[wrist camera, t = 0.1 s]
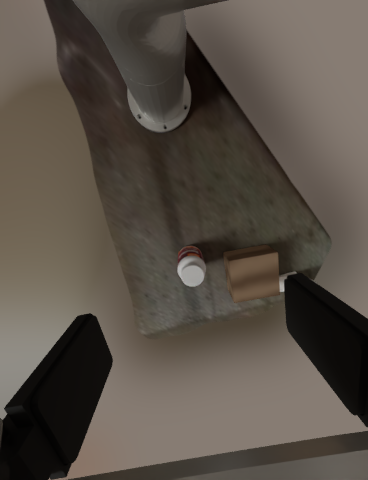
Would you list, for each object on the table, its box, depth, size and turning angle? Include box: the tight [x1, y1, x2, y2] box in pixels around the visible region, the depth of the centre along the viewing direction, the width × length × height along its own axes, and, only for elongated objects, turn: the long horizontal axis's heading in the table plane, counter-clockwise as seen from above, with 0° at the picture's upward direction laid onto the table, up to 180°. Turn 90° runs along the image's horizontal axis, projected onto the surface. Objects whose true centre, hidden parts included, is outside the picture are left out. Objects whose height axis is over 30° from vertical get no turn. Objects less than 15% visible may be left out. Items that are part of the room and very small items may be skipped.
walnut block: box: [223, 244, 280, 303], centre depth 46 cm, size 11×11×6 cm
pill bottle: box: [178, 246, 206, 287], centre depth 42 cm, size 6×6×11 cm
